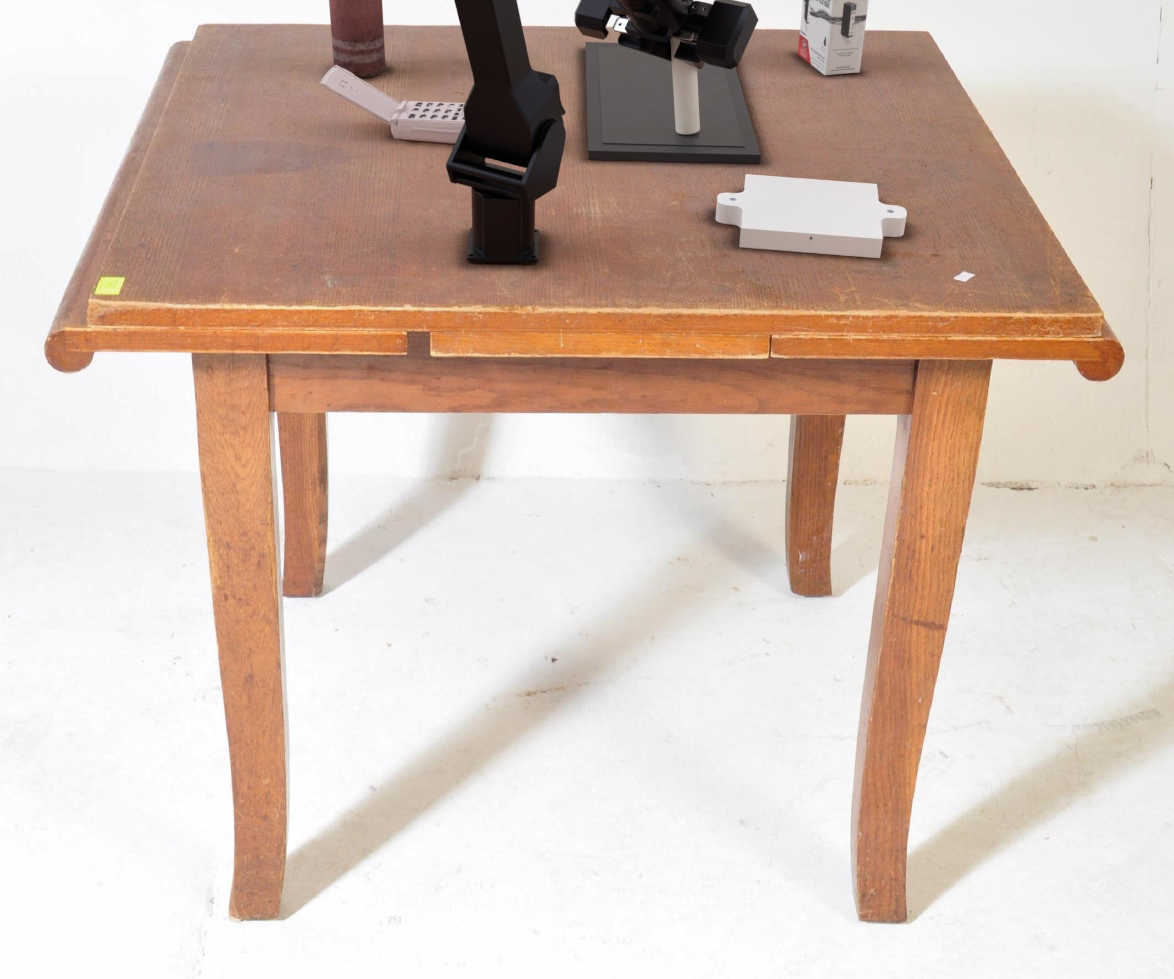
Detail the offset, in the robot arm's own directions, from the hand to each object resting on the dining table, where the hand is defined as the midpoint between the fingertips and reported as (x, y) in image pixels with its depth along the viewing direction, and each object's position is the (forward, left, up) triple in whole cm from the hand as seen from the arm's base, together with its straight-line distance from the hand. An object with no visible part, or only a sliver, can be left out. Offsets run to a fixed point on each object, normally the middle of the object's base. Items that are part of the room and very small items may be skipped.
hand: (690, 62), depth 151 cm
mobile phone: (-1, +26, -9) cm, 28 cm away
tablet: (+11, +2, -8) cm, 14 cm away
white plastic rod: (-1, 0, -7) cm, 7 cm away
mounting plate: (-22, -10, -9) cm, 26 cm away
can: (+19, +38, -9) cm, 43 cm away
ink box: (+26, -19, -9) cm, 33 cm away
